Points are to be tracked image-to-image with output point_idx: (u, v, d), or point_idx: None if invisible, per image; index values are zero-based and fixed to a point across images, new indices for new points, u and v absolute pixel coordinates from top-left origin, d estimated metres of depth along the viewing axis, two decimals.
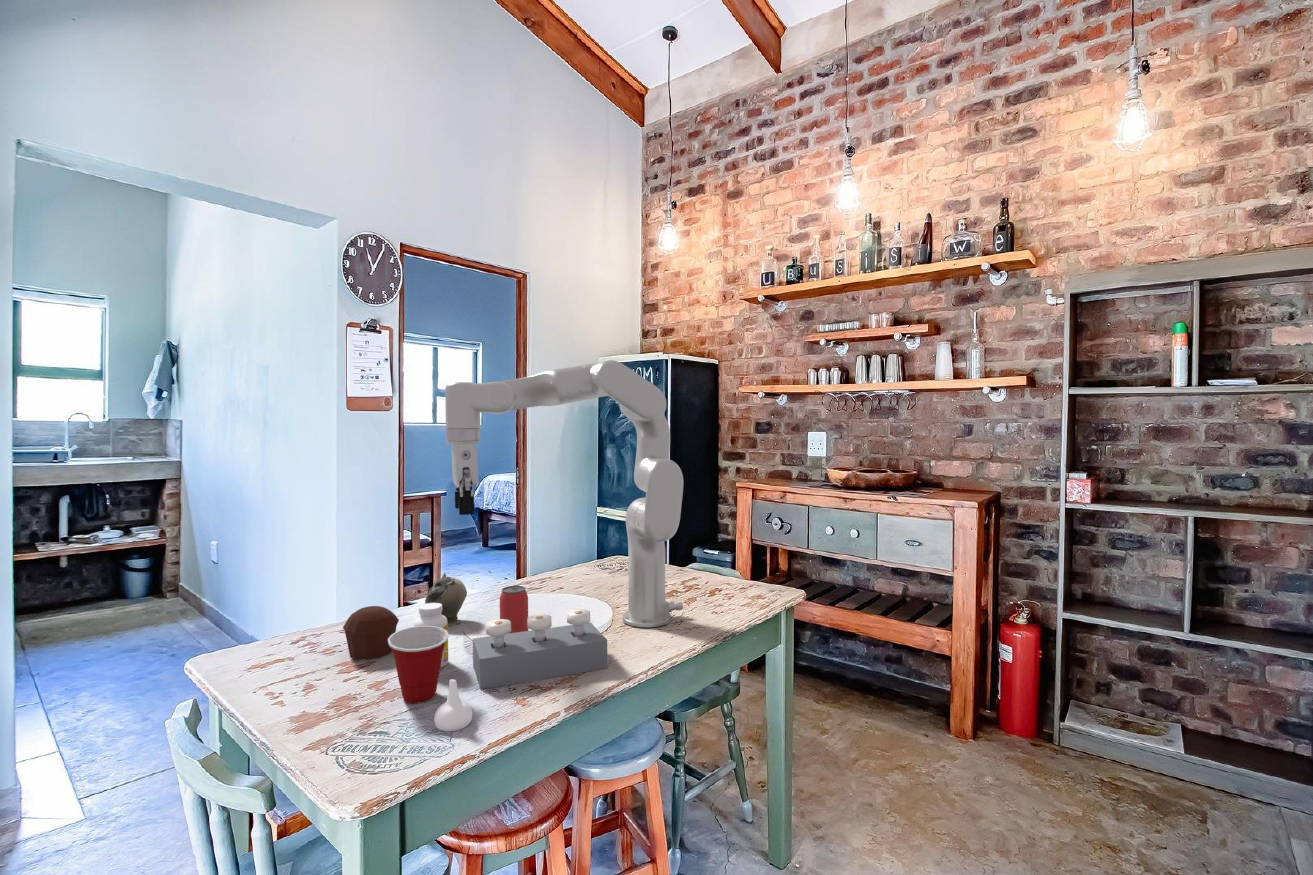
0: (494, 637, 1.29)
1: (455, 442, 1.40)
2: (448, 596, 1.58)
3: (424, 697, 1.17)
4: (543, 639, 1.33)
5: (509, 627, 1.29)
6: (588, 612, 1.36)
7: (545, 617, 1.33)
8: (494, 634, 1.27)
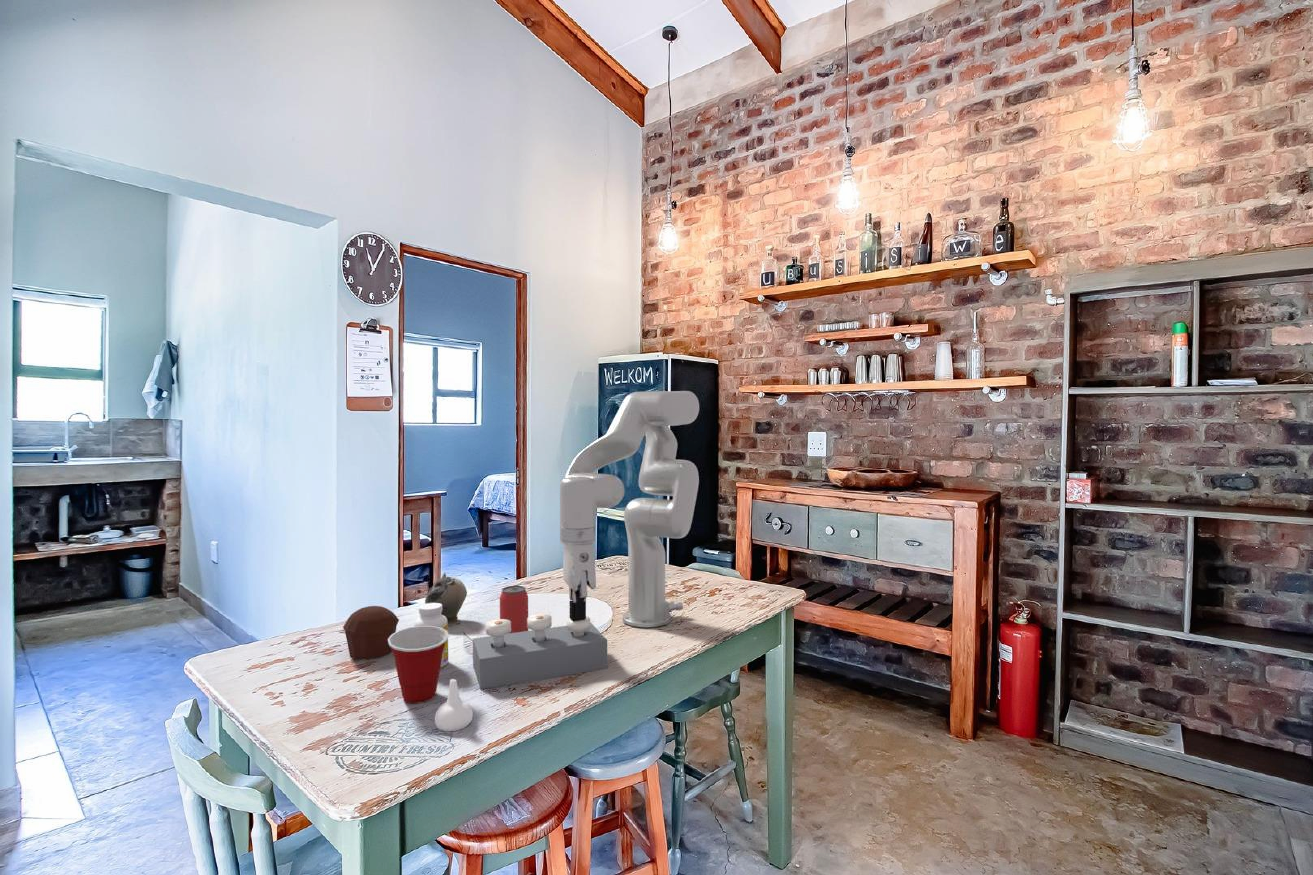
0: (494, 637, 1.29)
1: (572, 543, 1.32)
2: (448, 596, 1.58)
3: (424, 697, 1.17)
4: (543, 639, 1.33)
5: (509, 627, 1.29)
6: (588, 619, 1.36)
7: (545, 617, 1.33)
8: (494, 634, 1.27)
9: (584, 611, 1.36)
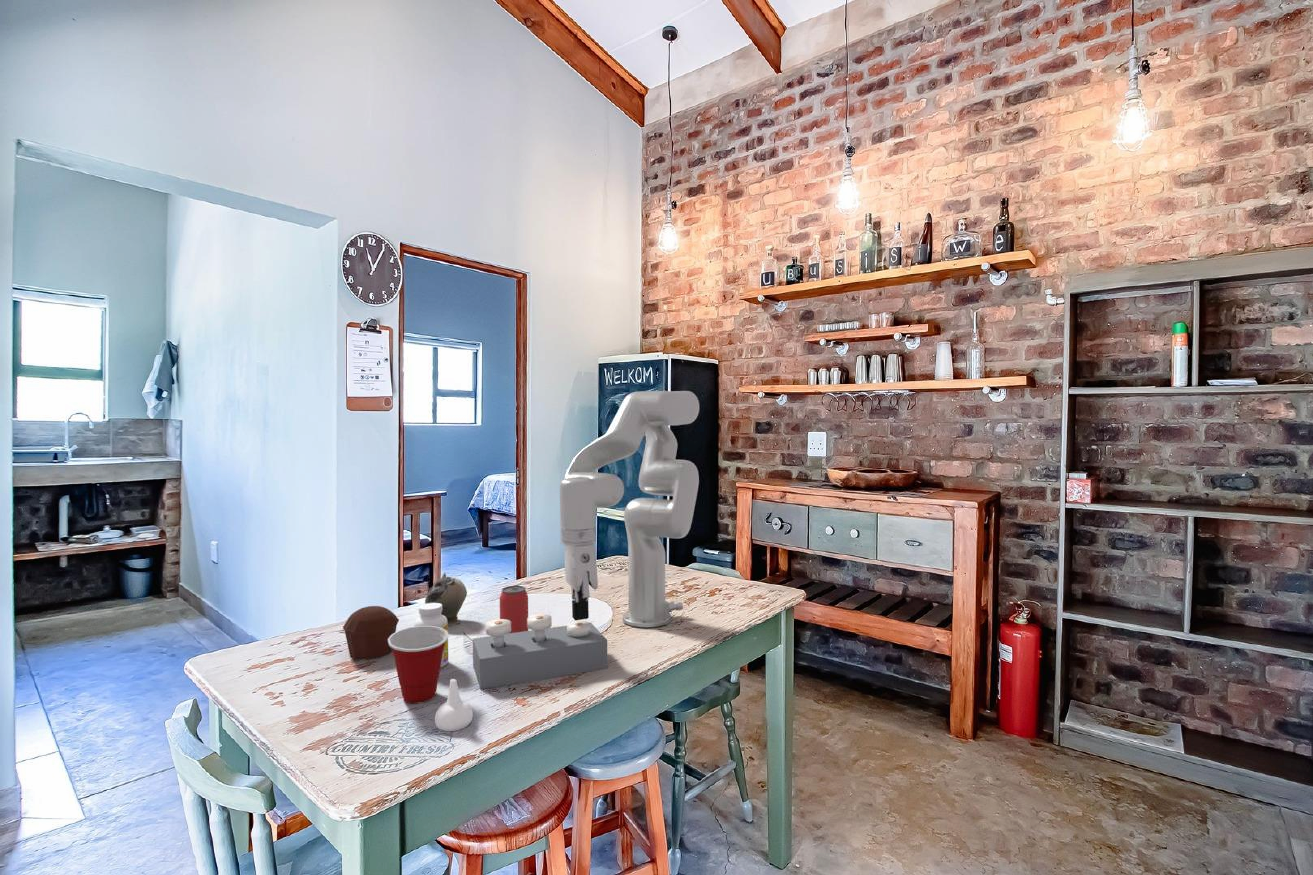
0: (494, 637, 1.29)
1: (573, 544, 1.32)
2: (448, 596, 1.58)
3: (424, 697, 1.17)
4: (543, 639, 1.33)
5: (509, 627, 1.29)
6: (588, 624, 1.36)
7: (545, 617, 1.33)
8: (494, 634, 1.27)
9: (587, 610, 1.37)
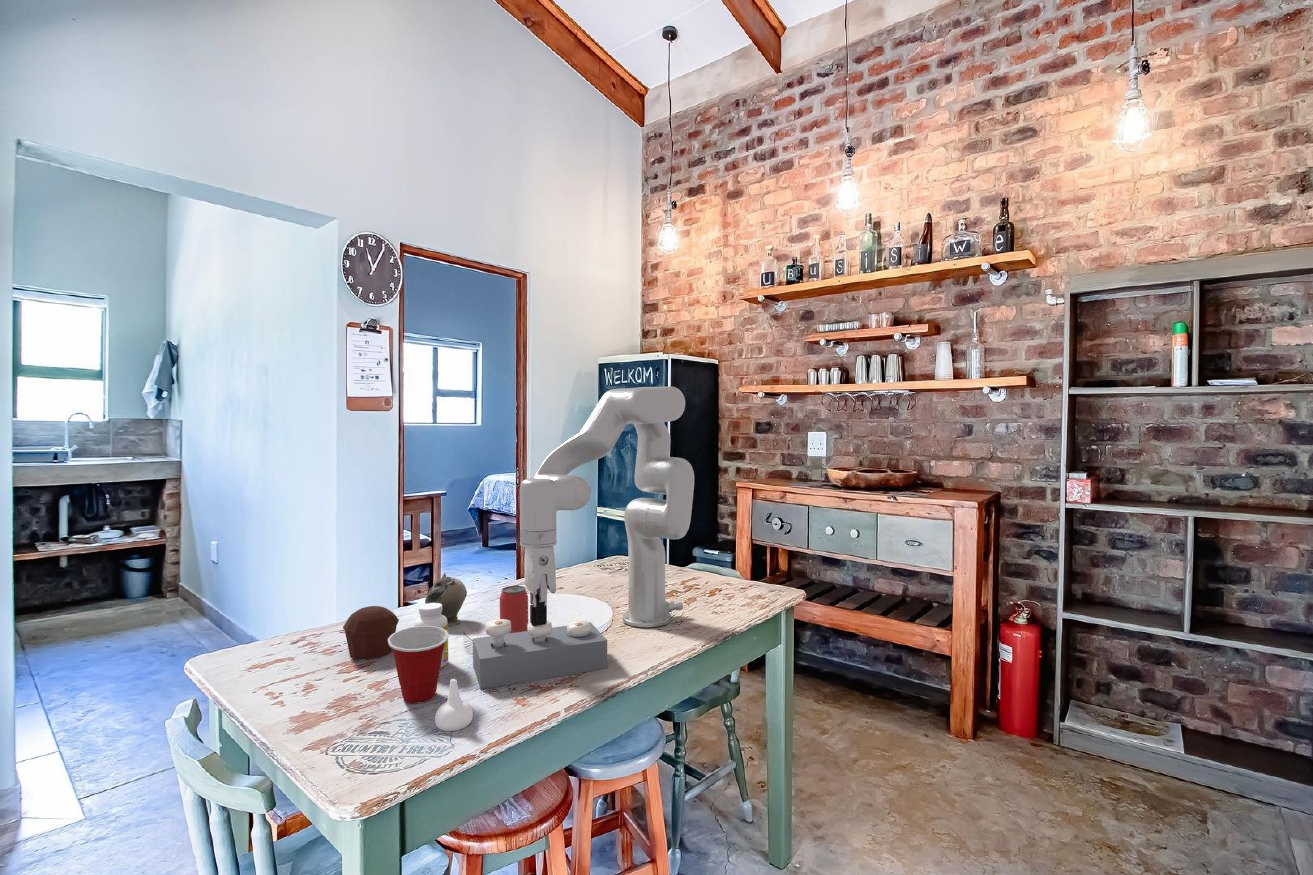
0: (494, 637, 1.29)
1: (531, 546, 1.28)
2: (448, 596, 1.58)
3: (424, 697, 1.17)
4: None
5: (509, 627, 1.29)
6: (588, 624, 1.36)
7: None
8: (494, 634, 1.27)
9: (545, 615, 1.32)
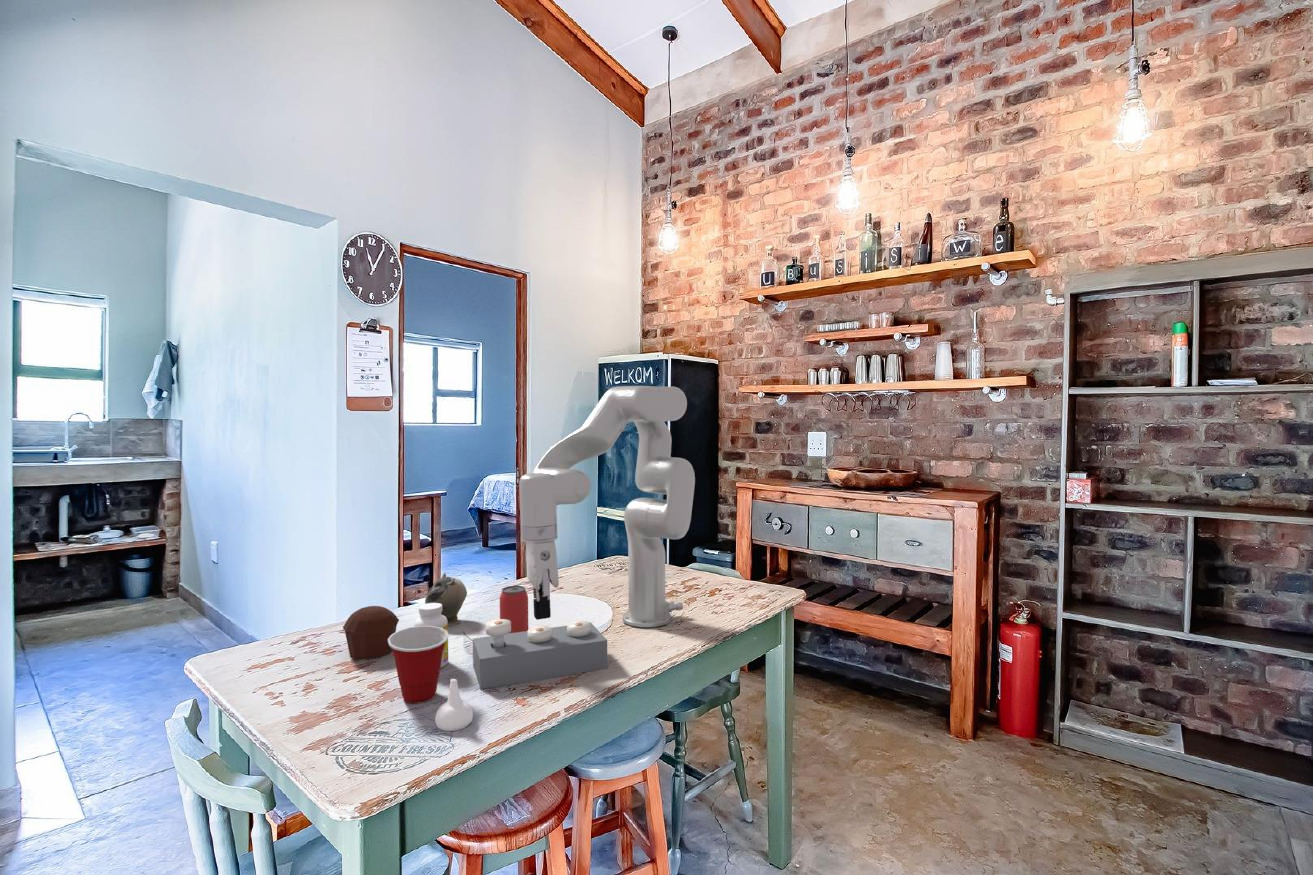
0: (494, 637, 1.29)
1: (533, 542, 1.29)
2: (448, 596, 1.58)
3: (424, 697, 1.17)
4: None
5: (509, 627, 1.29)
6: (588, 624, 1.36)
7: (545, 629, 1.33)
8: (494, 634, 1.27)
9: (548, 609, 1.33)
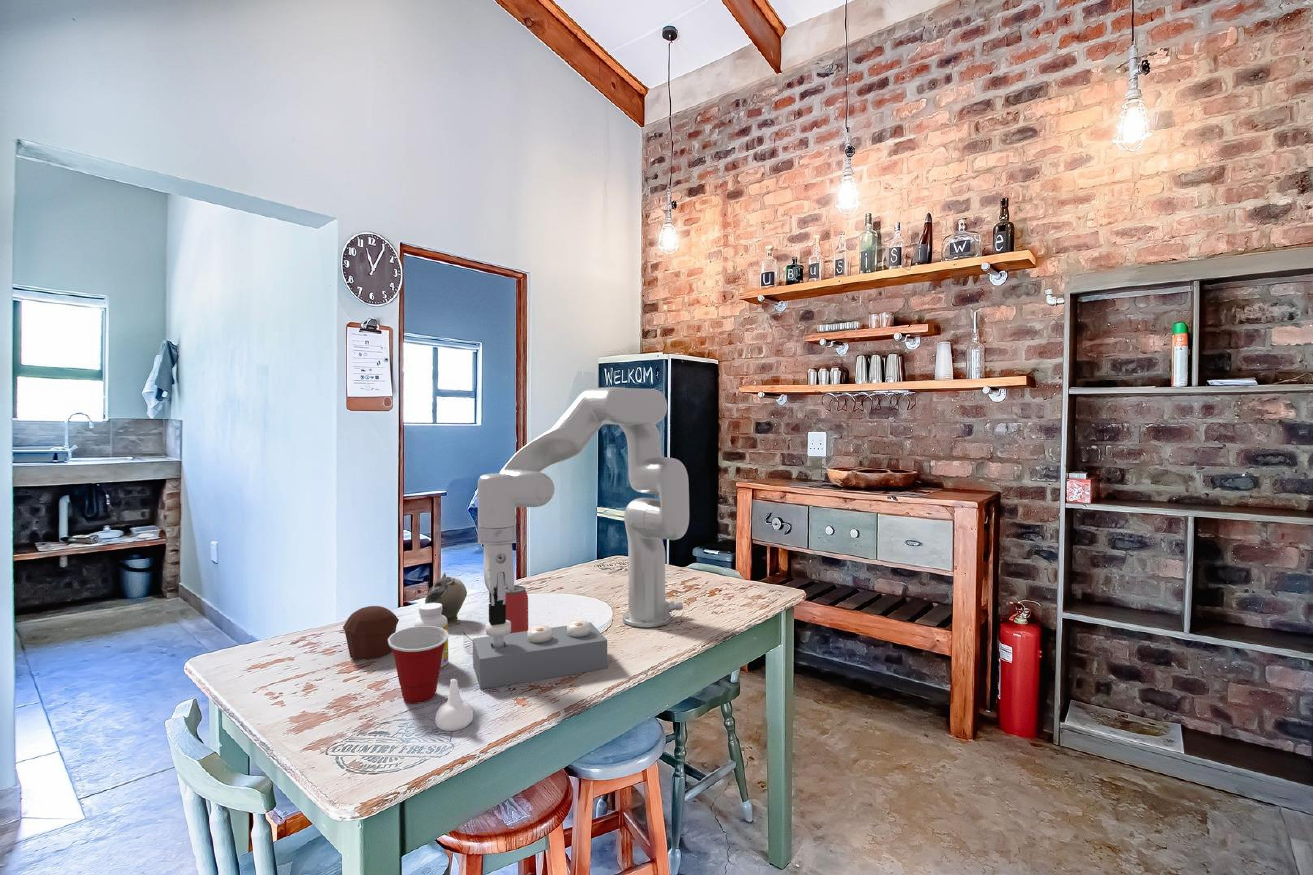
0: (494, 637, 1.29)
1: (489, 543, 1.25)
2: (448, 596, 1.58)
3: (424, 697, 1.17)
4: None
5: (509, 627, 1.29)
6: (588, 624, 1.36)
7: (545, 629, 1.33)
8: (494, 634, 1.27)
9: (504, 614, 1.29)
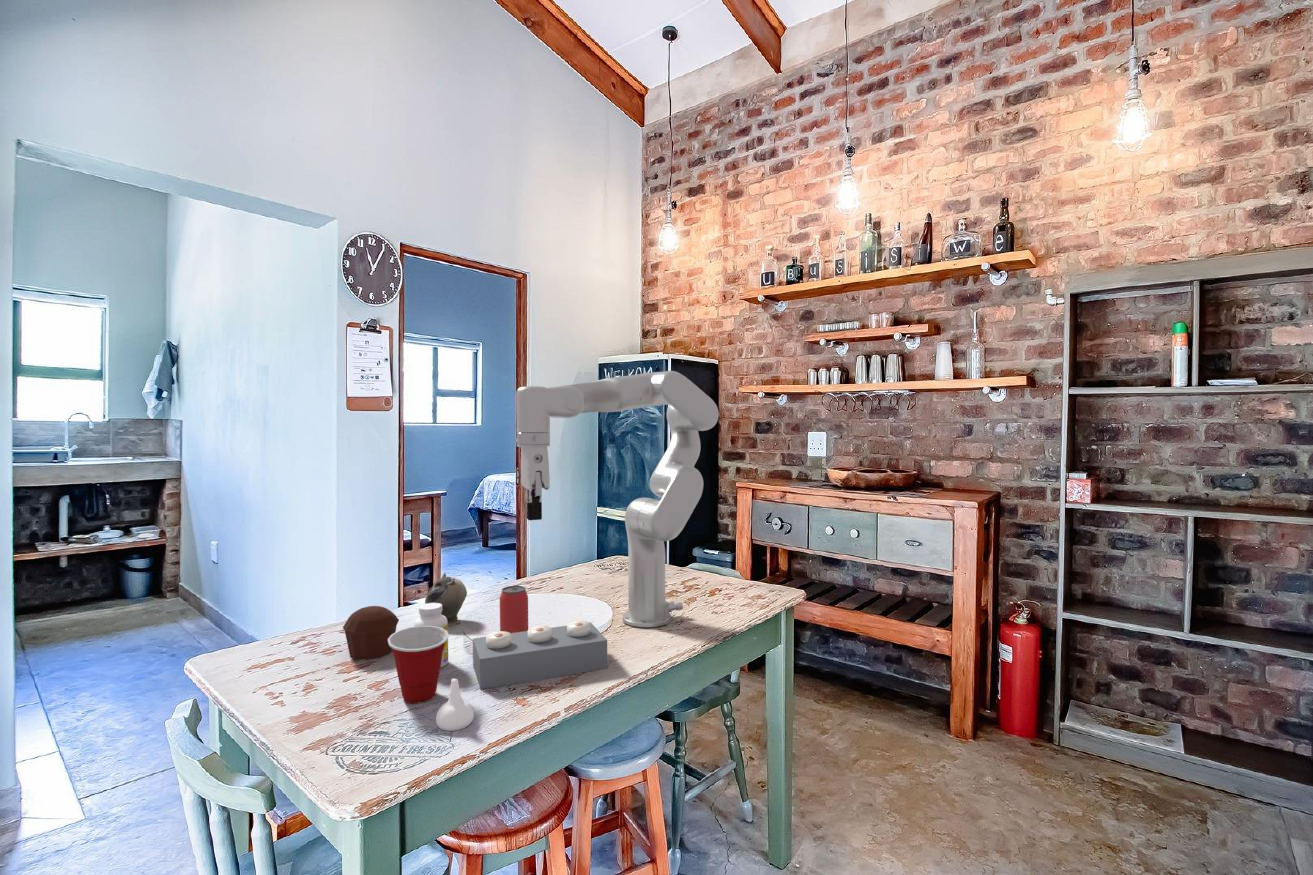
0: None
1: (527, 446, 1.41)
2: (448, 596, 1.58)
3: (424, 697, 1.17)
4: None
5: (509, 639, 1.29)
6: (588, 624, 1.36)
7: (545, 629, 1.33)
8: (494, 647, 1.27)
9: (540, 512, 1.45)
